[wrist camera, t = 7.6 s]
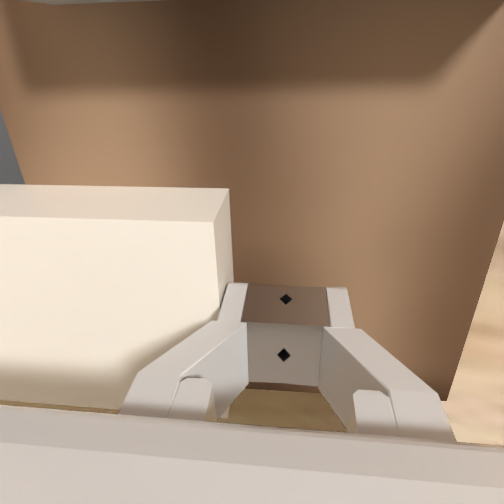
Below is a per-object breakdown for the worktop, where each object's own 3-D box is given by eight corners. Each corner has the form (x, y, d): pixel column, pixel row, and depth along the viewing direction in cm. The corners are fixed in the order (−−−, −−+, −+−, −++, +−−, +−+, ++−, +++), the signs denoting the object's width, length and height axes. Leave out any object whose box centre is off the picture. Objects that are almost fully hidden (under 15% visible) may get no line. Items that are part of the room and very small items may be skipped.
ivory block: (228, 188, 10) (213, 222, 8) (238, 365, 12) (227, 418, 11) (-99, 181, 10) (-178, 211, 9) (-19, 348, 13) (-67, 394, 12)
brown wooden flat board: (654, -573, 6) (873, -948, 4) (424, 346, 14) (446, 400, 12) (-80, -441, 7) (-252, -658, 5) (117, 331, 16) (88, 378, 14)
